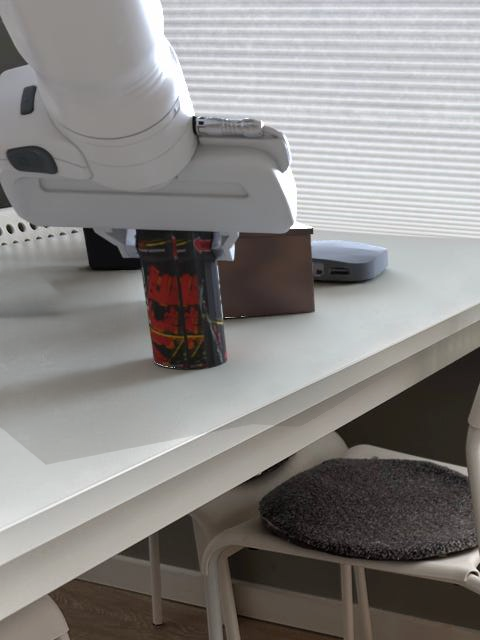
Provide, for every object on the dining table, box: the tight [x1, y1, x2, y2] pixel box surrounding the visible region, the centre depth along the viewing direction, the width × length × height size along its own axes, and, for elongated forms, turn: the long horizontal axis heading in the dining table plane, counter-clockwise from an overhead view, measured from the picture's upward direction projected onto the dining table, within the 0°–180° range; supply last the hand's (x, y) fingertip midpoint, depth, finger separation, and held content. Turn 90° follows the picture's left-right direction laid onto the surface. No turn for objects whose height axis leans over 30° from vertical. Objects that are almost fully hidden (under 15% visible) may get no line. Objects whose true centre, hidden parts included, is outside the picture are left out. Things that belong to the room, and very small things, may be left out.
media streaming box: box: [311, 239, 389, 282], centre depth 117 cm, size 15×15×3 cm
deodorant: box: [136, 229, 228, 369], centre depth 76 cm, size 6×6×15 cm
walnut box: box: [217, 221, 316, 318], centre depth 97 cm, size 12×12×8 cm
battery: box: [82, 228, 141, 271], centre depth 114 cm, size 4×7×10 cm, turn 111°
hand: (179, 252), depth 76 cm, fingers closed on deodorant, 6 cm apart
